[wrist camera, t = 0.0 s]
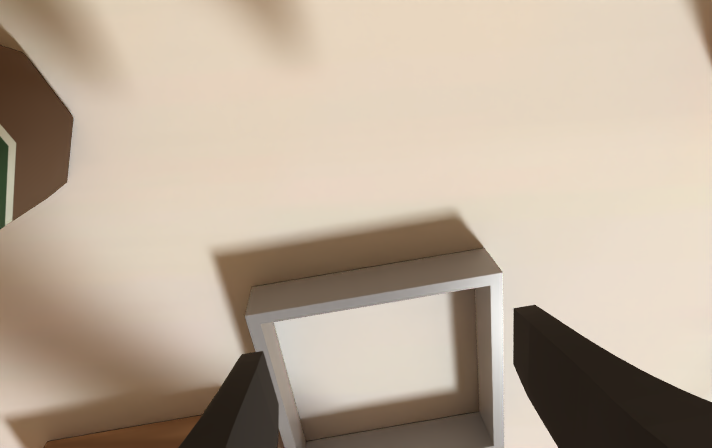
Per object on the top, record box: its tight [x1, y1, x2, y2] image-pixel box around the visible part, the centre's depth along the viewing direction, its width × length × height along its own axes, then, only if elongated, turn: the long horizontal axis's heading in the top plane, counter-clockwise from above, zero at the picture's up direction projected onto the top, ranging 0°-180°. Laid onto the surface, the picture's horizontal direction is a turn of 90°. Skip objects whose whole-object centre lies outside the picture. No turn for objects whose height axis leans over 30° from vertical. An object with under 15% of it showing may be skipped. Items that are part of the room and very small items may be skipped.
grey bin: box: [245, 248, 504, 448], centre depth 25 cm, size 12×12×2 cm
